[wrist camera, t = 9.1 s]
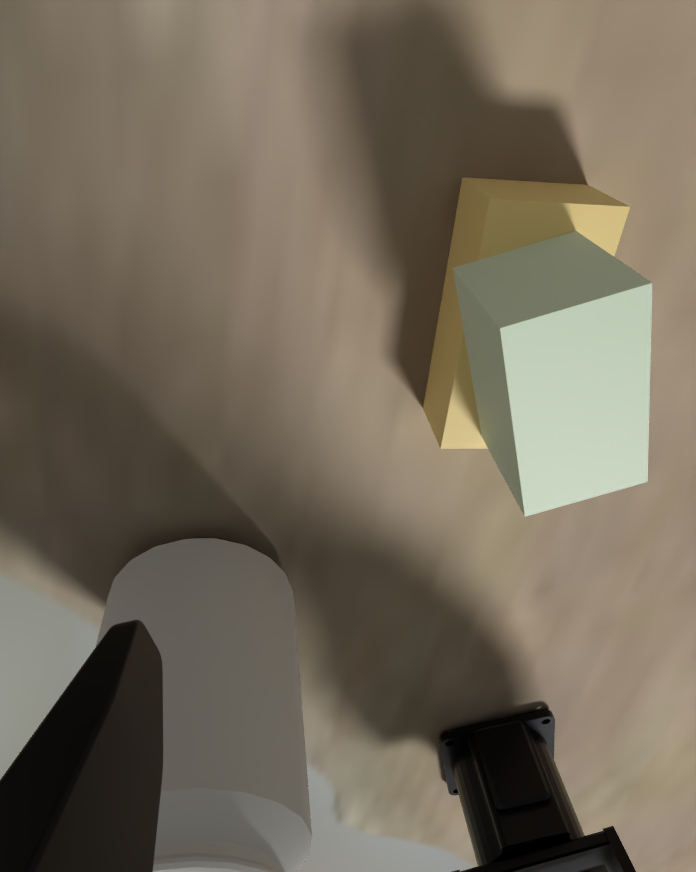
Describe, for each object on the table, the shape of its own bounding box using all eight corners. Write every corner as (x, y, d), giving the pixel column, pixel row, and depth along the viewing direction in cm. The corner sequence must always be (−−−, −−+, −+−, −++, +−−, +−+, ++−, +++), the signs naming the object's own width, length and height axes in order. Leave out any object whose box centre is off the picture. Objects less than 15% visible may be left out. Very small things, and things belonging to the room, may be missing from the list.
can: (89, 535, 24) (-22, 894, 14) (282, 511, 25) (304, 839, 15) (136, 656, 28) (76, 997, 19) (300, 633, 29) (327, 952, 19)
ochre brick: (522, 402, 24) (553, 447, 21) (420, 402, 23) (440, 448, 21) (582, 182, 20) (630, 206, 17) (458, 174, 19) (489, 198, 16)
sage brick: (584, 406, 21) (647, 481, 17) (481, 436, 21) (525, 516, 18) (576, 230, 17) (651, 282, 14) (452, 267, 17) (499, 328, 14)
